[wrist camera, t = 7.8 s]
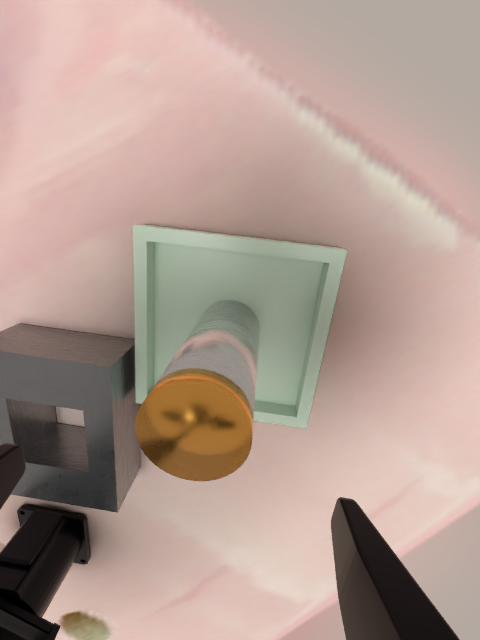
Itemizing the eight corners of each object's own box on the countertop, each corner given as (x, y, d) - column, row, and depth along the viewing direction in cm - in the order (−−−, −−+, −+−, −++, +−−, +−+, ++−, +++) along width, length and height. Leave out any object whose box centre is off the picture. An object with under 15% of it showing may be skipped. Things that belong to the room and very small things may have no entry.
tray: (303, 412, 21) (306, 428, 20) (145, 388, 22) (135, 403, 20) (339, 247, 17) (347, 250, 16) (145, 224, 18) (132, 224, 16)
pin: (265, 306, 18) (262, 397, 9) (254, 361, 20) (241, 490, 10) (203, 295, 18) (136, 372, 9) (196, 350, 20) (132, 468, 10)
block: (140, 467, 25) (117, 512, 21) (40, 451, 25) (0, 492, 21) (139, 340, 21) (110, 367, 17) (19, 323, 21) (-35, 346, 17)
